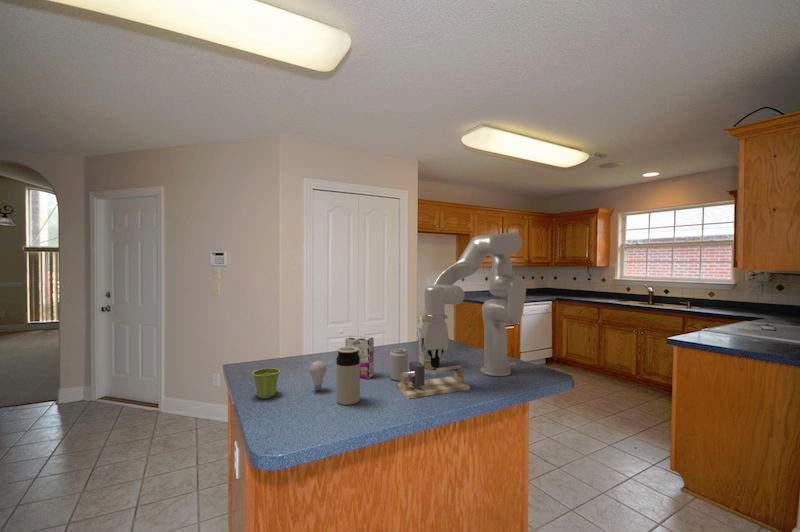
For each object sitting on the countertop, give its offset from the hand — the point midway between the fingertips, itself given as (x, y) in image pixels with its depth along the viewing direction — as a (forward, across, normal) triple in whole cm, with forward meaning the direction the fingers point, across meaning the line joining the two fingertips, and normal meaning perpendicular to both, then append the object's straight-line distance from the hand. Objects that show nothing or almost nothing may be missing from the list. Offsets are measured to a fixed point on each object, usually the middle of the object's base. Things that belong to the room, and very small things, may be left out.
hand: (435, 367), depth 137 cm
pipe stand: (+8, +1, 0) cm, 8 cm away
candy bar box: (+8, +23, -25) cm, 35 cm away
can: (+8, +9, -16) cm, 20 cm away
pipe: (+3, +1, 0) cm, 3 cm away
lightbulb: (+8, +42, -14) cm, 45 cm away
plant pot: (+8, +60, -16) cm, 62 cm away
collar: (+5, +8, 0) cm, 9 cm away
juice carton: (+8, -9, -26) cm, 29 cm away
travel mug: (+8, +34, 0) cm, 35 cm away
